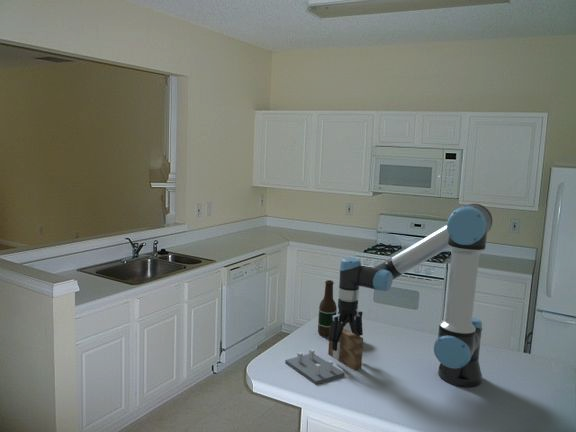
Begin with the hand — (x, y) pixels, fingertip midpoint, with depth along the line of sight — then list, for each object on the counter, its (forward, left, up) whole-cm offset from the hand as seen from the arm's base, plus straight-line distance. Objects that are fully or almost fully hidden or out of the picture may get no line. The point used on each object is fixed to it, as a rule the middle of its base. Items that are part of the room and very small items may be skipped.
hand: (344, 355), depth 189 cm
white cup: (+16, -16, -3) cm, 23 cm away
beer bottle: (+25, -11, -2) cm, 27 cm away
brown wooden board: (0, 0, -2) cm, 2 cm away
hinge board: (0, +14, -2) cm, 15 cm away
